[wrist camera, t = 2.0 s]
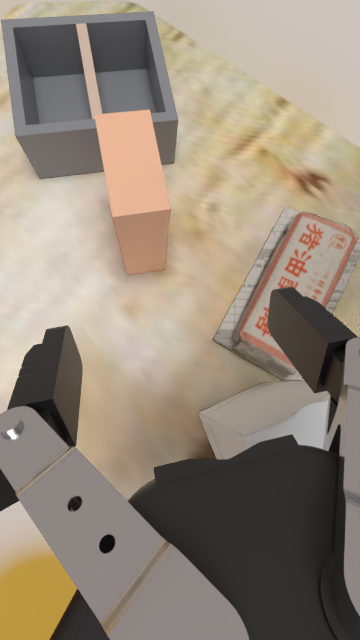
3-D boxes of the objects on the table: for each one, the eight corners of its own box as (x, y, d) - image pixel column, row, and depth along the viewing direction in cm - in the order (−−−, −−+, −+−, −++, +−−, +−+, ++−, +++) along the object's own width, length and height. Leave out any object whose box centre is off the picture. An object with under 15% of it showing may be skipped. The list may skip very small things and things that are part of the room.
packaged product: (316, 390, 27) (220, 334, 27) (292, 388, 32) (210, 341, 32) (387, 231, 31) (302, 183, 31) (356, 251, 35) (282, 209, 35)
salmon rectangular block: (151, 202, 34) (149, 109, 22) (164, 269, 32) (170, 209, 21) (115, 207, 33) (94, 114, 21) (127, 275, 32) (112, 217, 20)
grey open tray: (153, 69, 37) (153, 11, 31) (173, 163, 35) (178, 119, 29) (26, 79, 35) (1, 19, 29) (39, 178, 33) (15, 136, 27)
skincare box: (219, 468, 29) (285, 559, 15) (195, 408, 30) (235, 440, 15) (293, 431, 30) (423, 483, 16) (269, 376, 31) (369, 376, 17)
